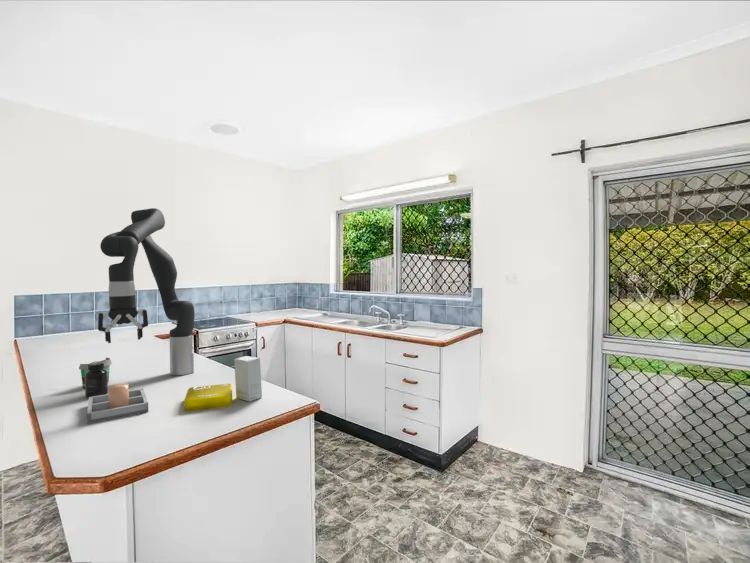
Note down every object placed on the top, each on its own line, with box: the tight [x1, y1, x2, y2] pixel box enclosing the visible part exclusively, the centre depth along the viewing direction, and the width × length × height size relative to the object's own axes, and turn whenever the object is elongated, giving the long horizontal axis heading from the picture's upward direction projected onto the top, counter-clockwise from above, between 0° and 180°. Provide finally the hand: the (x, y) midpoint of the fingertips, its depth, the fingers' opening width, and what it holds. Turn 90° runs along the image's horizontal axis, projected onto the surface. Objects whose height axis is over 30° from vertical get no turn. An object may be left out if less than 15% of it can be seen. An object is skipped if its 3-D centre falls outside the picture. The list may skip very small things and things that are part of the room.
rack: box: [86, 388, 149, 425], centre depth 125 cm, size 16×19×3 cm
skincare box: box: [233, 355, 263, 402], centre depth 136 cm, size 8×6×15 cm
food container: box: [78, 357, 113, 389], centre depth 152 cm, size 12×6×10 cm, turn 168°
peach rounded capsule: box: [108, 382, 130, 409], centre depth 122 cm, size 6×6×8 cm
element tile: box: [183, 383, 233, 412], centre depth 132 cm, size 15×15×5 cm
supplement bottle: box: [84, 362, 109, 399], centre depth 139 cm, size 7×7×12 cm
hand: (124, 340), depth 128 cm, fingers open, 8 cm apart
